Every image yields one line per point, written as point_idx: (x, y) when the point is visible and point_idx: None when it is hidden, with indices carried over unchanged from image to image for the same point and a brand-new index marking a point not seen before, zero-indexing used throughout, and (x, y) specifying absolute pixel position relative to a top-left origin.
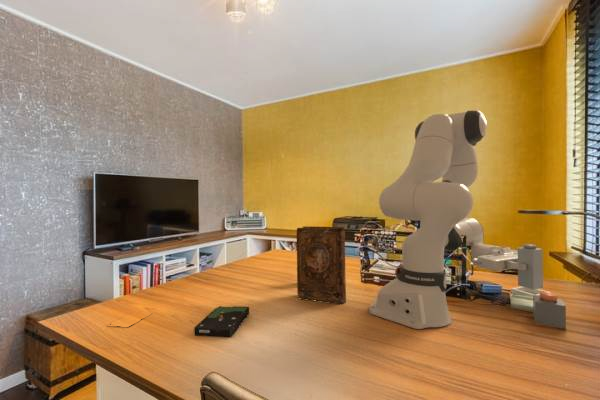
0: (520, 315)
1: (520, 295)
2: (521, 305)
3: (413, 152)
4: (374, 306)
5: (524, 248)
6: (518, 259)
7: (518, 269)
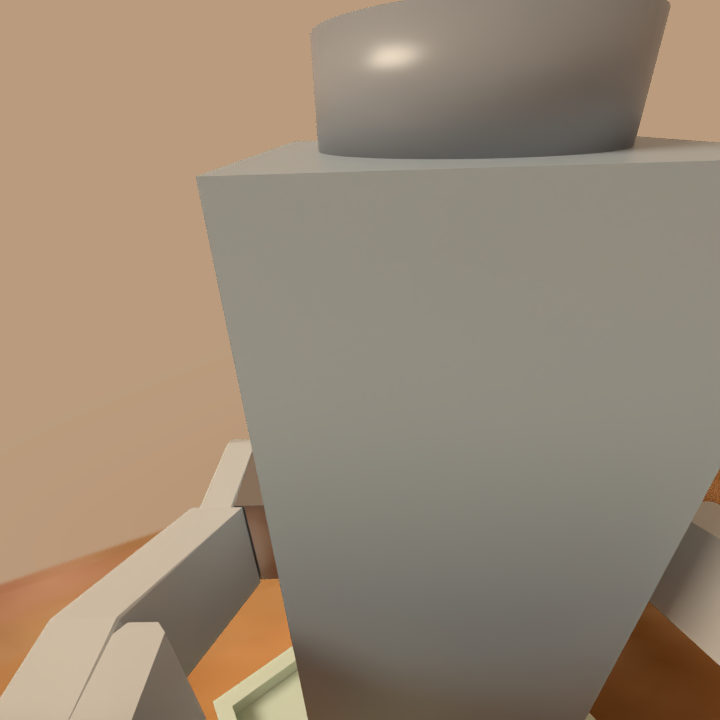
0: (667, 657)
1: None
2: (592, 717)
3: None
4: None
5: (632, 143)
6: (667, 519)
7: (597, 669)
